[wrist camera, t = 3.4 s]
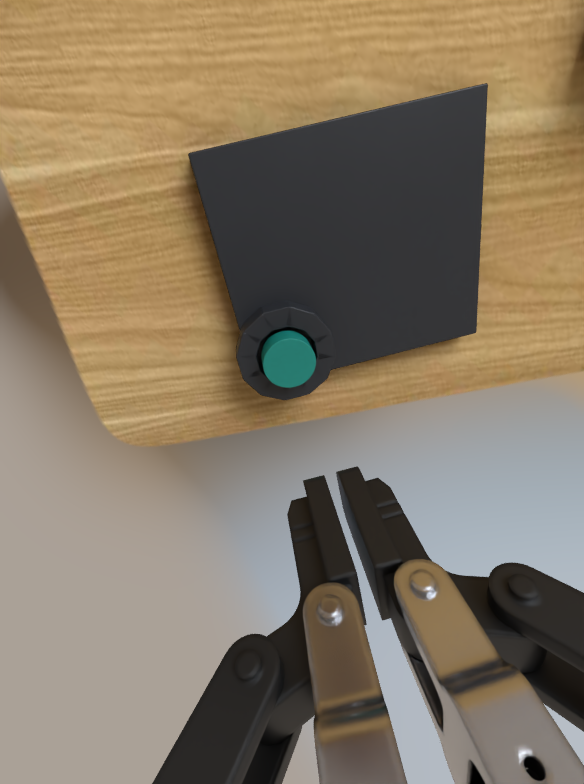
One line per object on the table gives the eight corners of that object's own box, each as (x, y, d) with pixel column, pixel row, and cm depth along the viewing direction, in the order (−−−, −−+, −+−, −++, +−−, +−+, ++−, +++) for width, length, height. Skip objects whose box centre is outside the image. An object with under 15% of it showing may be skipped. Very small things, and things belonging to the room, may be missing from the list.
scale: (250, 388, 27) (252, 409, 24) (180, 158, 20) (172, 152, 17) (465, 333, 27) (490, 348, 24) (472, 89, 20) (509, 72, 17)
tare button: (267, 382, 24) (270, 393, 22) (255, 337, 22) (257, 346, 21) (315, 370, 24) (320, 380, 22) (306, 324, 22) (311, 332, 21)
